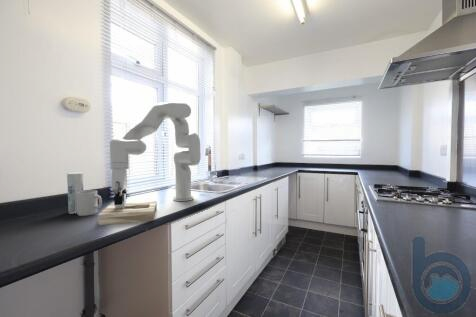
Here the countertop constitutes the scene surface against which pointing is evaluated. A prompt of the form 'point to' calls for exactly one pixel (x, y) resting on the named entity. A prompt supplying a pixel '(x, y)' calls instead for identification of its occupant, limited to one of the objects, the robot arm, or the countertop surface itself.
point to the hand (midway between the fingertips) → (120, 201)
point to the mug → (88, 202)
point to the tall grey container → (74, 189)
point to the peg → (122, 202)
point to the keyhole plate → (128, 213)
